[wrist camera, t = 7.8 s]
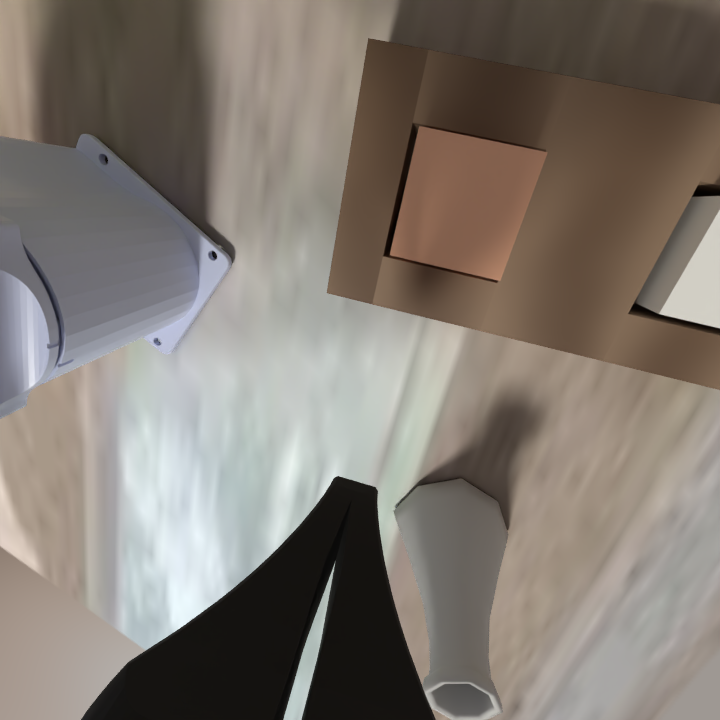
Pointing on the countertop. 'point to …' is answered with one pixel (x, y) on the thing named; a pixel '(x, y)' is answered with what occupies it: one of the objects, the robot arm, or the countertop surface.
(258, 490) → the countertop surface
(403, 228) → the salmon pink cube
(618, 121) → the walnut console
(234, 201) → the countertop surface
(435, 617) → the flask
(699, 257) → the white cube
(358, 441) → the countertop surface
